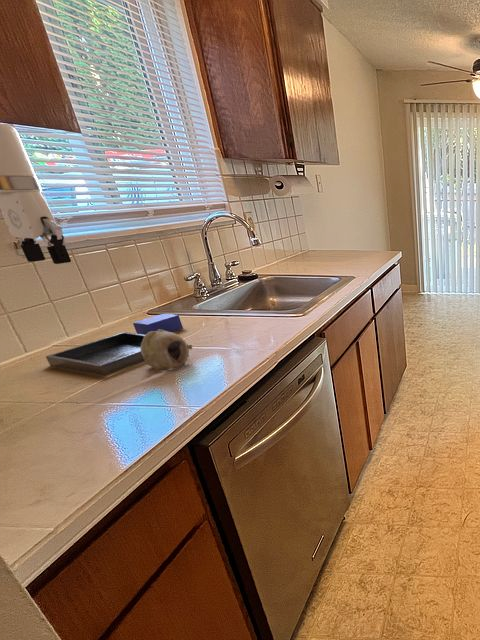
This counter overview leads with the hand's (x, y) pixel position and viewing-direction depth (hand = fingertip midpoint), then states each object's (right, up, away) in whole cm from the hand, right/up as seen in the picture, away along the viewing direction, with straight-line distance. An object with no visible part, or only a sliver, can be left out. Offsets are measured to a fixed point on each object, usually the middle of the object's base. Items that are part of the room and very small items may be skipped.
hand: (49, 261), depth 97 cm
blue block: (+11, -16, +21) cm, 29 cm away
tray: (+12, -24, +5) cm, 27 cm away
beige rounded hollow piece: (+30, -25, +1) cm, 39 cm away
